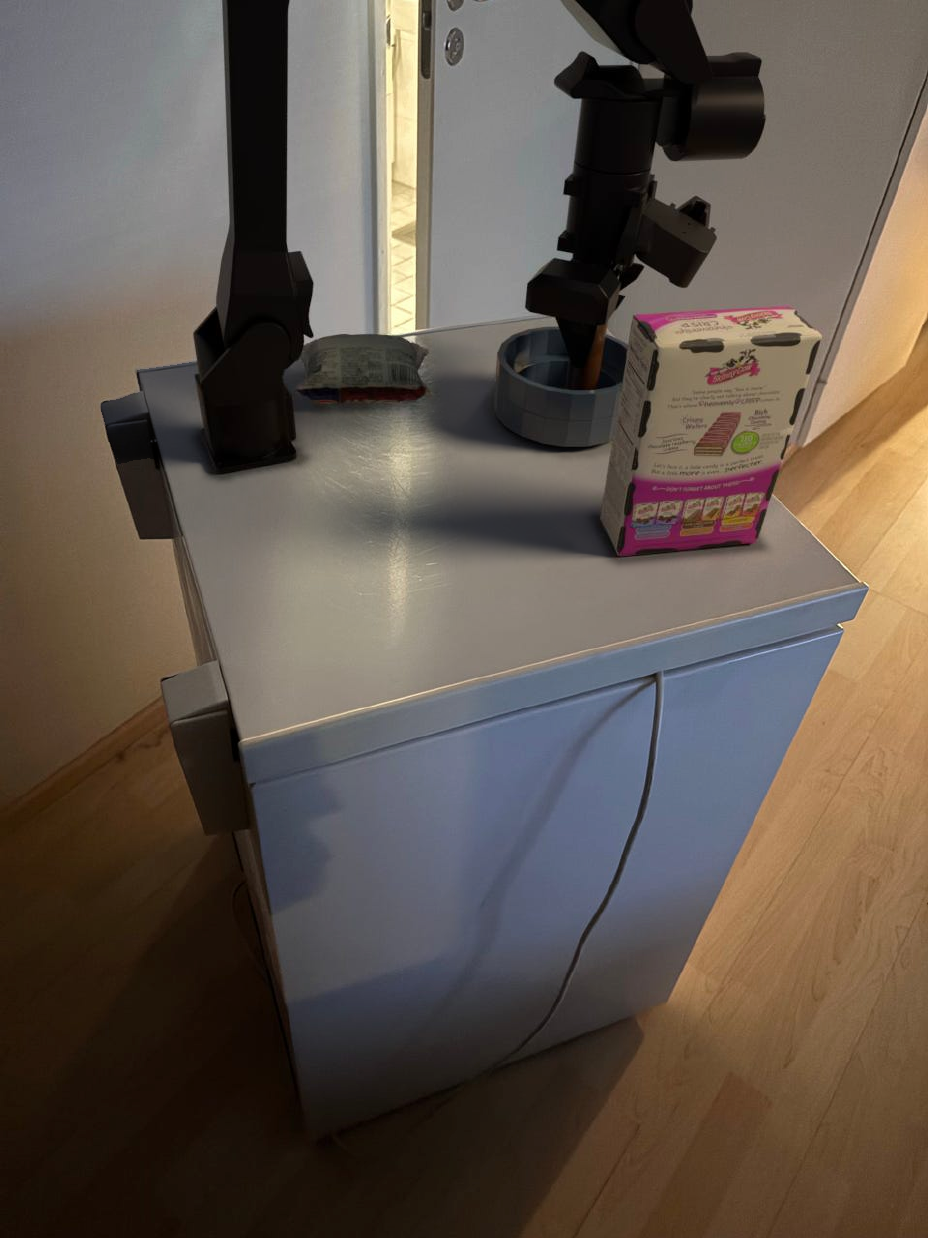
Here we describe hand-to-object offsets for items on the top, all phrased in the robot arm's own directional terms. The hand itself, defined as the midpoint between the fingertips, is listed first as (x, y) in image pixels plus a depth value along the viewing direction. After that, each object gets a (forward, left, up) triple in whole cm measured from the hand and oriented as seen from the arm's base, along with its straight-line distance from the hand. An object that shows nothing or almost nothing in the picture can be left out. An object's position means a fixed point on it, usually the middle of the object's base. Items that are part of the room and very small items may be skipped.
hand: (583, 359), depth 76 cm
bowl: (-2, 0, -5) cm, 5 cm away
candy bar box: (-2, -18, -5) cm, 19 cm away
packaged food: (-17, +10, -5) cm, 20 cm away
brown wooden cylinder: (0, 0, -4) cm, 4 cm away
